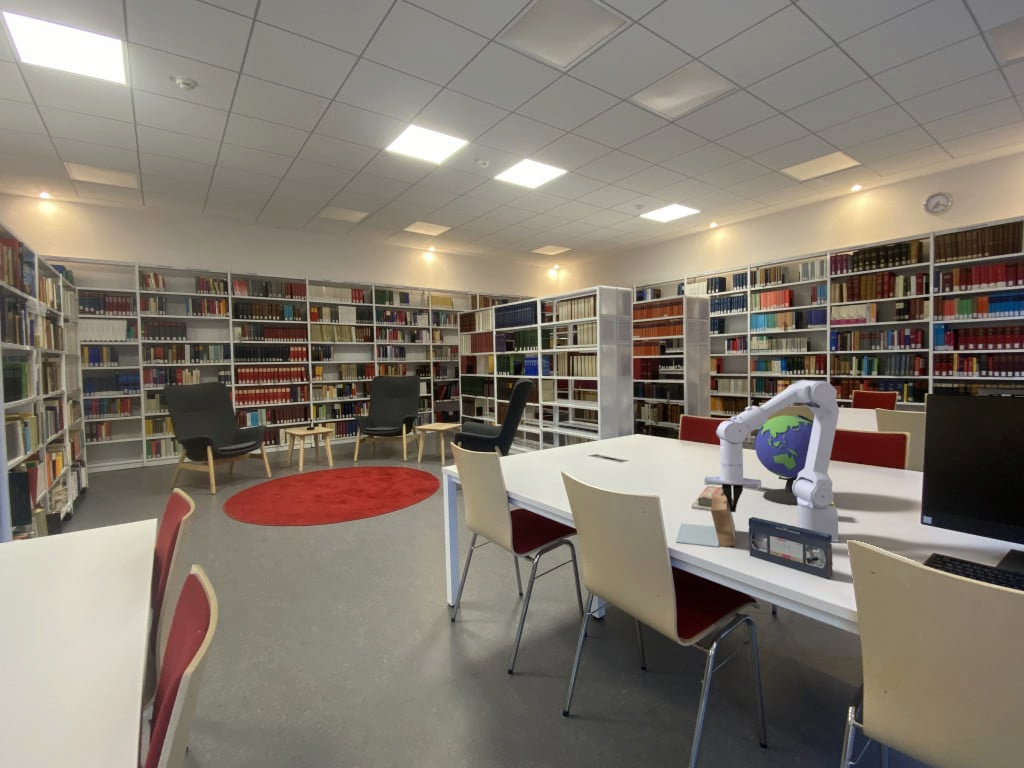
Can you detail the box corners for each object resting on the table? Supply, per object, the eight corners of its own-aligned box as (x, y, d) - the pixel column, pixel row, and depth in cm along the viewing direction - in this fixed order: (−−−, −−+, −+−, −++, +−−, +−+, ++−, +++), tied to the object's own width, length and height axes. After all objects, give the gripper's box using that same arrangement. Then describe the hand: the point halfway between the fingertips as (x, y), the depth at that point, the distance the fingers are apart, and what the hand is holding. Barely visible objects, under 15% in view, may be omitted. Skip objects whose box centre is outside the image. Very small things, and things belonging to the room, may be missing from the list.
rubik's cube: (834, 521, 145) (834, 503, 144) (813, 519, 147) (813, 502, 147) (831, 516, 149) (831, 498, 149) (811, 514, 152) (810, 497, 152)
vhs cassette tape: (748, 556, 123) (747, 518, 122) (754, 553, 124) (753, 515, 124) (827, 580, 108) (827, 537, 107) (833, 577, 109) (832, 534, 109)
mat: (719, 527, 143) (719, 526, 143) (718, 547, 129) (718, 546, 129) (681, 524, 148) (681, 523, 148) (675, 542, 133) (675, 541, 133)
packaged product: (701, 484, 178) (730, 486, 172) (702, 496, 178) (731, 499, 172) (690, 496, 163) (721, 499, 157) (691, 510, 163) (722, 514, 157)
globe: (775, 486, 185) (774, 410, 183) (839, 498, 166) (837, 414, 165) (742, 497, 173) (740, 416, 171) (807, 512, 154) (805, 420, 153)
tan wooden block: (735, 528, 140) (727, 495, 141) (736, 545, 128) (727, 508, 128) (720, 529, 142) (712, 496, 143) (719, 546, 130) (710, 510, 130)
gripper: (759, 461, 134) (760, 509, 135) (704, 459, 140) (705, 504, 141) (761, 467, 128) (762, 516, 128) (703, 464, 134) (704, 511, 134)
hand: (732, 511), depth 134 cm, fingers closed
